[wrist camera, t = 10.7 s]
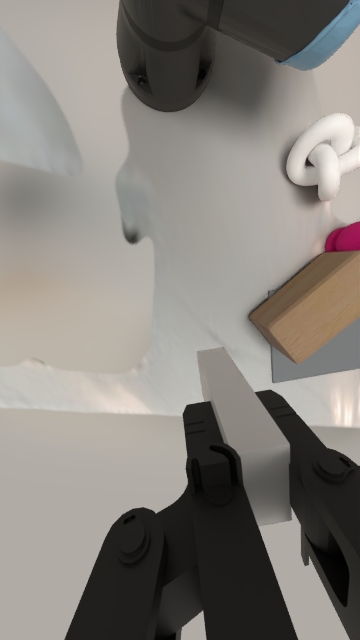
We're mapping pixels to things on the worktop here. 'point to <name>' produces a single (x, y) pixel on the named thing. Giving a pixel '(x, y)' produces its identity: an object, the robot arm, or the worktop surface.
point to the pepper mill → (344, 239)
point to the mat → (321, 356)
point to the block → (312, 306)
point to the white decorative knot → (325, 154)
